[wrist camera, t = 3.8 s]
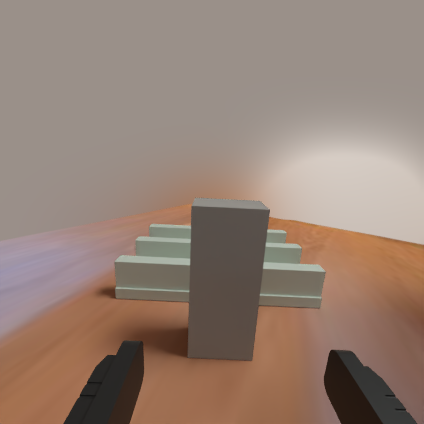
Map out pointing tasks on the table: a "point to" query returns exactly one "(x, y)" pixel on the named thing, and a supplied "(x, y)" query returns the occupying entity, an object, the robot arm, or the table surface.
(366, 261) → the table surface
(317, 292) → the pale green ridged block
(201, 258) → the grey rectangular block
